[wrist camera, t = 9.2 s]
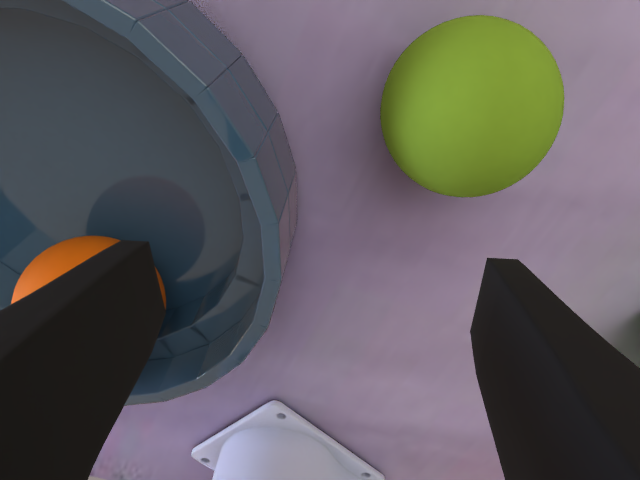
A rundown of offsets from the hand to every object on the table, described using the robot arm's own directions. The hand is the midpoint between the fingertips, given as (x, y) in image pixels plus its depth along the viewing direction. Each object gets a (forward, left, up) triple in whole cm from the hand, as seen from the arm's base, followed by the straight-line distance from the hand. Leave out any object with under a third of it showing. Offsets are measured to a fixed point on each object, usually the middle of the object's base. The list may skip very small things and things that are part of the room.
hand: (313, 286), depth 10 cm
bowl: (+6, +9, -9) cm, 14 cm away
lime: (-1, -4, -6) cm, 8 cm away
